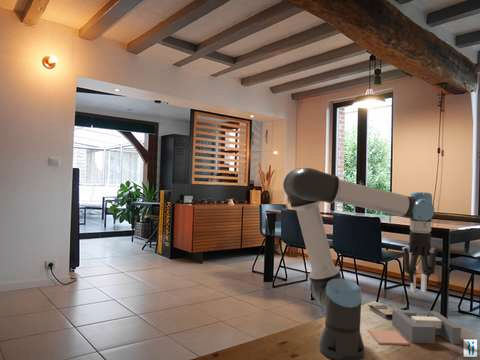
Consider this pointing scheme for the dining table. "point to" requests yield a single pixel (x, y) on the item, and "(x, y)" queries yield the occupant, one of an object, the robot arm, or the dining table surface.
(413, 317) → the cream bar
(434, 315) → the pocket plate
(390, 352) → the dining table surface
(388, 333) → the terracotta mat
